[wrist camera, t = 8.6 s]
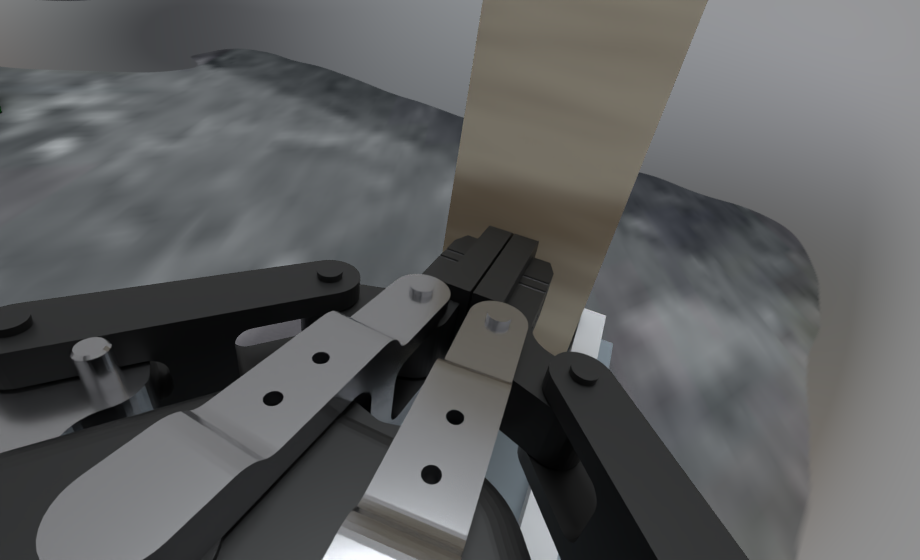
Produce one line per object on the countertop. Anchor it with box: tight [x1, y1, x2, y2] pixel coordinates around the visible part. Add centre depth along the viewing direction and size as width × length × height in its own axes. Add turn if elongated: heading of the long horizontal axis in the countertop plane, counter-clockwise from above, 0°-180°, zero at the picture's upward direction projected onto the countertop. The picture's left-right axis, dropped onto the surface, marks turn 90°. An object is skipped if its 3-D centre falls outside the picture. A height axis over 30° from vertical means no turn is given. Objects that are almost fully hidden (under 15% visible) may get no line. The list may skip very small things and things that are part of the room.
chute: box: [400, 308, 613, 560], centre depth 16 cm, size 21×10×4 cm, turn 158°
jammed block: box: [442, 0, 708, 356], centre depth 15 cm, size 5×5×20 cm
